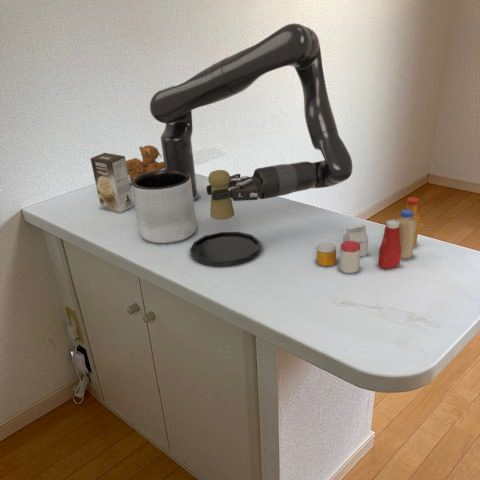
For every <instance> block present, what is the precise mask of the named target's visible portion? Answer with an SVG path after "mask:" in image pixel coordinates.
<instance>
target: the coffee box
mask: <svg viewBox="0 0 480 480" xmlns="http://www.w3.org/2000/svg"><path fill="white" fill-rule="evenodd" d="M126 161H127V160H126V156H125V155H121V154H116V153H115V154H114V153H109V152H102V153H101V154H98V155H95V156H92V157H90V163H91V168H92V172H93V173H92V174H93V178H94V182H95V186H96V192H97V195H98V200H99V205H100V208H101V209H102V210H103V209H104V210H107V211H111V212H112V211H113V212H116V213H123V212H124V211H127V210H129V209H130V208H133V207H134V199H133V193H132V188H131V186H130V183H131V182H130V177H129V175H128V172H127V166H126Z"/></svg>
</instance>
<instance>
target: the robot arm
mask: <svg viewBox="0 0 480 480" xmlns="http://www.w3.org/2000/svg"><path fill="white" fill-rule="evenodd" d="M322 59H323V58H322V51H321V44H320V39H319V37H318V35H317V33H316V32H315V31H314V30H313V29H311V28H309V27H308V26H306V25H303V24H300V23H295V22H293V23H289V24H285V25H284V26H282V27H280V28H279V29H277V30H275V31H274V32H273V33H272V34H270V35H269V36H267V37H265V38H264V39H262V40H261V41H259V42H257V43H256V44H254V45H251V46H249V47H247V48H244V49H241V50H240V51H238V52H236V53H234V54H231V55H229V56H227V57H224V58H223V59H221V60H219V61H216V62H215V63H213V64H212V65H209V66H207V67H206V68H204V69H203V70H201V71H199V72H198V73H196V74H194V75H193V76H192V77H190V78H189V79H186V80H185V81H183V82H182V83H179V84H177V85H172V86H168V87H166V88H163V89H159V90H158V91H156V92H155V93H154V94H153V95H152V97H151V99H150V102H149V111H150V114H151V116H152V117H153V119H155V120H156V121H157V122H159V123H162V124H165V126H164V130H163V132H162V134H161V136H160V145H161V149H162V150H161V152H162V158H163V162H164V166H165V168H164V169H162V170H179V171H183V172H186V173H188V174H189V175H190V176H191V184H192V192H193V200H194V201H196V200H197V199H198V197H199V194H198V189H197V179H196V170H195V162H194V161H195V160H194V153H193V144H192V135H193V132H194V131H193V128H194V127H193V113H192V111H193V110H195V109H199V108H201V107H205V106H208V105H212V104H216V103H218V102H221V101H224V100H227V99H229V98H232V97H234V96H236V95H239V94H240V93H242V92H244V91H246V90H247V89H248V88H249V87H251V86H252V85H253V84H254V83H255V82H256V81H257V80H258V79H259V78H260V77H262V76H264V75H265V74H267V73H270V72H272V71H275V70H278V69H280V68H284V67H292V68H294V69H295V71H296V73H297V76H298V78H299V81H300V85H301V88H302V93H303V112H304V120H305V124H306V128H307V132H308V135H309V138H310V141H311V145H312V147H313V148H314V149H315V150H316V151H319V152H320V153H321V155H322V157H323V158H324V159H323V160H319V161H314V162H311V161H299V162H293V163H281V164H275V165H269V166H264V167H257V168H255V170H254V171H253V174H252V175H251V176H248V175H243V176H241V174H240V173H236V174H233V175H230V182H229V184H228V185H229V188H227V189H226V188H225V189H220V190H214V191H212V192H211V185H210V184H208V185H207V186H206V188H205V189H206V194H207V195H208V196H211V195H212V199H213V200H214V201H215V200H220V199H226V198H228V199H231V200H232V202H244V201H257V200H258V199H260V200H266V199H267V200H268V199H271V198H277V197H282V196H286V195H289V194H292V193H297V192H302V191H306V190H307V191H308V190H310V189H311V190H312V189H323V188H330V187H335V186H336V185H339V184H341V183H343V182H345V181H346V180H348V179H349V178H350V177H351V176H352V173H353V167H354V166H353V160H352V157H351V155H350V153H349V150H348V149H347V146H346V145H345V143H344V141H343V139H342V138H341V136H340V135H339V130H338V127H337V124H336V119H335V116H334V113H333V110H332V106H331V102H330V98H329V94H328V90H327V89H328V88H327V85H326V84H327V83H326V79H325V73H324V68H323V60H322ZM129 183H130V187H132V186H131V182H129Z"/></svg>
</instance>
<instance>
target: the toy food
mask: <svg viewBox="0 0 480 480" xmlns="http://www.w3.org/2000/svg"><path fill="white" fill-rule="evenodd" d="M419 203H420V199H419V198H418V197H415V196H410V197H407V198H406V207H405V209H402V210H400V216H399V217H397V219H389V220H387V221H386V223H385V226H384V231H383V235H382V240H381V244H380V246H379V249H378V263H377V264H378V266H379V267H380V268H381V270H382V269H383V270H387V269H393V268H397V267H399V266H400V263H401V260H406V259H410V258H411V257H412V256H413V255H414V247H415V246H416V245H417V244H418V243H417V242H418V234H419V228H420V221H421V216H420V214H419V213H418V208H419V207H418V206H419ZM366 229H367V226H366V225H365V224H358V225H352V226H347V227H346V232H345V233H344V235H343V237H342V243H341V244H340V245H339V247H340V252H339V270H340V271H341V272H342V273H345V274H354V273H357V272H358V271H359V270H360V264H361V263H360V261H361V257H365V256H367V255H368V251H369V250H368V249H369V237H368V234H367V230H366ZM336 262H337V246H336V245H335V244H334V243H333V242H330V241H324V242H320V243H319V244H317V246H316V263H317V264H318V265H319V266H322V267H330V266H333V265H335V264H336Z"/></svg>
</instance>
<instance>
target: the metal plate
mask: <svg viewBox="0 0 480 480" xmlns="http://www.w3.org/2000/svg"><path fill="white" fill-rule="evenodd" d="M261 250H262V247H261V241H260V240H259V239H258V238H257V237H255V236H254V235H253V234H250V233H246V232H241V231H220V232H215V233H211V234H206V235H204V236H202V237H200V238H199V239H197V240H195V241H194V242H193V243H192V245H191V247H190V256H191V258H192V260H194V261H195V262H197V264H201V265H203V266H208V267H215V268H226V267H234V266H235V267H236V266H239V265H243V264H246V263H248V262H250V261H252V260H254V259H256V258H257V257H258V256H259V255H260V253H261Z"/></svg>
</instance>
